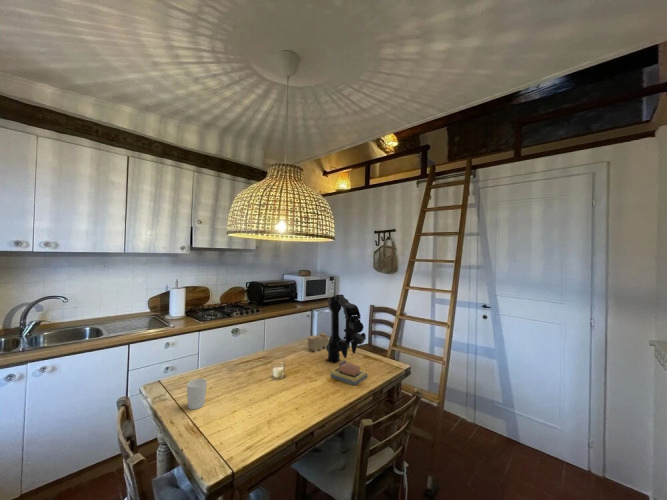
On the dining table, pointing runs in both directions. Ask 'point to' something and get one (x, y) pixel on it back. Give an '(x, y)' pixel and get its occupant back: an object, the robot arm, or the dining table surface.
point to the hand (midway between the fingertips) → (349, 355)
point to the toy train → (317, 342)
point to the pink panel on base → (349, 368)
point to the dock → (348, 377)
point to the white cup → (196, 393)
